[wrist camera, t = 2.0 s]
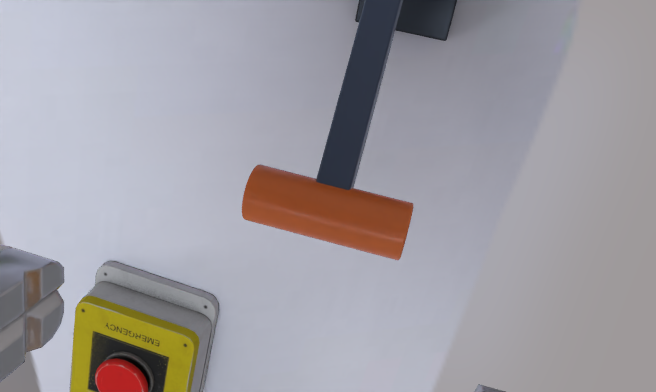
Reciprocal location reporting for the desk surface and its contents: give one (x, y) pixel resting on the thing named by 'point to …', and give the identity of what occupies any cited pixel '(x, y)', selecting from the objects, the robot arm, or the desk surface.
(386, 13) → the switch lever
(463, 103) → the desk surface
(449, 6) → the switch bracket
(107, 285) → the emergency button
